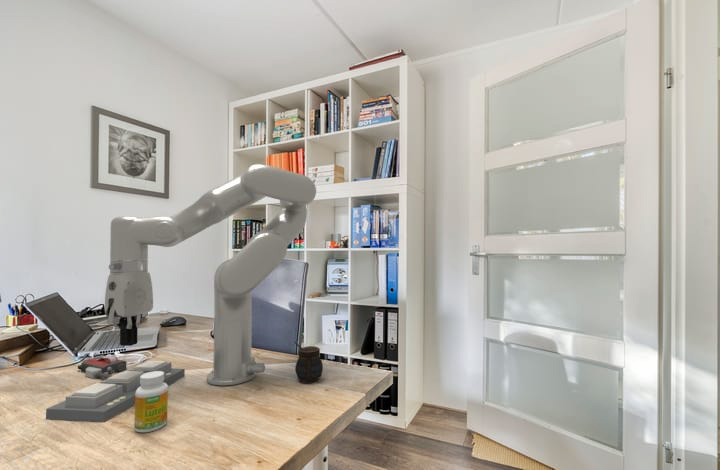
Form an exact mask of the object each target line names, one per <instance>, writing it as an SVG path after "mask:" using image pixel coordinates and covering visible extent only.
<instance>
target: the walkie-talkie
mask: <svg viewBox="0 0 720 470" xmlns="http://www.w3.org/2000/svg"><path fill="white" fill-rule="evenodd" d="M127 363H128V362H127V360H121V359H118V357H117V356H116V355H115V356H114V355H111V354H107V355H103V354H102V355H97V356H95V357H93V358H90V359H85V360H83V361H82V362H81V364H80V365H78V366H77V369H78V370H80V372H82V373H85V374H84V375H85V378H89V379H92V380H93V379H94V380H95V379H98V378H101V379H102V378H103V379H104V380H107V378H109V377H112V376H113V374H116V373H117V374H118V373H121V372H124V371H127Z"/></svg>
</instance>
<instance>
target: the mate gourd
mask: <svg viewBox="0 0 720 470" xmlns="http://www.w3.org/2000/svg"><path fill="white" fill-rule="evenodd" d="M293 342H294V344H296V346H297V347H298V358H297V361H296V363H295V368H294V370H295V374H296V378H297V379H298V380H299V381H300V382H302V383H306V384H310V383H315V382H317V381H318V380H319V379H320V378H321V376H322V373H323V370H324V364H323V362H322V359H321V356H320V352H321V349H320V347H318V346H315V345H313V346H311V345H310V346H304V347H301V346H300V344H298V343H297V341H293Z"/></svg>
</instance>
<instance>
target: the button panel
mask: <svg viewBox="0 0 720 470" xmlns="http://www.w3.org/2000/svg"><path fill="white" fill-rule="evenodd" d="M127 371H143V372H144V374H145V373H148V372H154V371H162V372H164V381H163V382H164V383H166V384H167V385H168V386H170V385H171V384H174V383H176V382H177V381H179V380H181V379H182V378H184V377H185V372H186V371H185V368H172V362H171V361H170V362H169V361H166V364H165V365H163V366H160V367H158V368H156V369H154V370H134V367H133V368H131V369H128V370H127ZM99 383H101V384H116V388H114V389H111V390H109V391H107V392H105V393H103V394H101V395H99V396H96V397H86V396H74V393H72V394H69V395H67V396H65V399H64V400H63V401H60V402H59V403H56V404H55V405H51V406H49V407H47V408H46V410H45V411H46V412H45V419H46V420H57V421H58V420H59V421H62V420H63V421H75V422H76V421H78V422H79V421H80V422H93V423H94V422H95V423H98V422H99V423H104V422H106V421H109V420H111V419H112V418H115V416H117V415H119V414H121V413H122V412H124V411H126V410H128V409H129V408H131V407H134V406H135V393H136V390H137V389H138V388H139V387H140V386H141V385H140V376H139V377H137V378H135V379H133V380H131V381H128V382H110V381H107V379H104V380H102V381H100V382H99Z"/></svg>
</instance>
